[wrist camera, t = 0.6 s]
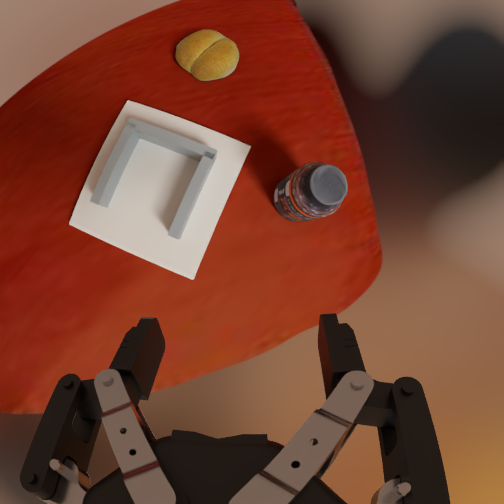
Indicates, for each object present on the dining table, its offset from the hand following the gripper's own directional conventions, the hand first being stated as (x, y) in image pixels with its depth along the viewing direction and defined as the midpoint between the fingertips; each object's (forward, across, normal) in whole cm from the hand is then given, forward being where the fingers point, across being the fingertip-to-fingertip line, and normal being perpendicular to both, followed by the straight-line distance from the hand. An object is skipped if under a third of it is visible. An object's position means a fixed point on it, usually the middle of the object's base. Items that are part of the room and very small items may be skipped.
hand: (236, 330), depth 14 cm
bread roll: (+34, +6, -18) cm, 39 cm away
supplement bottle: (+26, -5, +2) cm, 27 cm away
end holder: (+24, +12, -2) cm, 27 cm away
